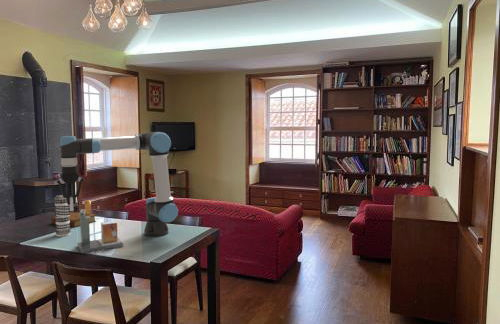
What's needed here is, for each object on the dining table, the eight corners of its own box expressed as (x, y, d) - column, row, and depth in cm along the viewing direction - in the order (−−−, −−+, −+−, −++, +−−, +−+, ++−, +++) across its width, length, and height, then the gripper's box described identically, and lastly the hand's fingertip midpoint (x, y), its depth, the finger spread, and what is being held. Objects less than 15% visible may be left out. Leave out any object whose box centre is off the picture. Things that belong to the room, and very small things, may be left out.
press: (116, 240, 235) (115, 209, 233) (123, 246, 222) (121, 213, 221) (77, 246, 224) (75, 213, 222) (81, 253, 211) (79, 218, 209)
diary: (51, 225, 275) (51, 216, 274) (74, 219, 291) (73, 211, 291) (74, 228, 264) (73, 220, 264) (96, 222, 281) (95, 214, 280)
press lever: (79, 213, 222) (79, 196, 221) (87, 212, 224) (86, 195, 223) (84, 219, 207) (83, 201, 206) (92, 218, 209) (92, 200, 208)
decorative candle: (53, 237, 243) (50, 197, 240) (58, 232, 252) (56, 194, 249) (68, 236, 244) (66, 196, 242) (73, 232, 253) (71, 194, 251)
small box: (103, 242, 220) (102, 224, 219) (101, 240, 225) (100, 222, 224) (117, 240, 224) (117, 222, 223) (115, 238, 229) (115, 220, 228)
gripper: (81, 164, 209) (83, 207, 211) (54, 166, 202) (57, 210, 205) (84, 165, 203) (86, 210, 205) (56, 167, 196) (58, 213, 198)
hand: (71, 210), depth 205 cm, fingers closed
